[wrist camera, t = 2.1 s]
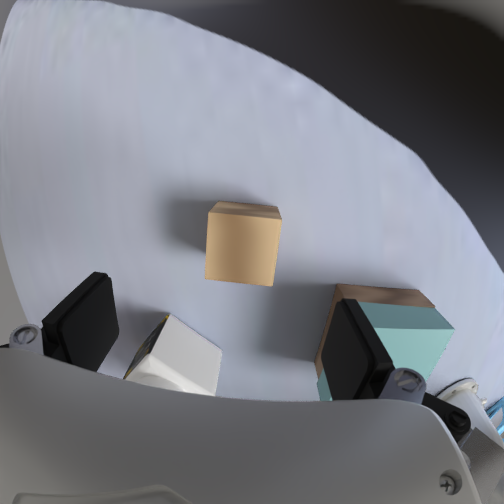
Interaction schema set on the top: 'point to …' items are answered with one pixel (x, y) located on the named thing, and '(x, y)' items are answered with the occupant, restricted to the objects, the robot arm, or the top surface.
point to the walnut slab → (370, 296)
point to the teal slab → (405, 337)
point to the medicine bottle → (176, 360)
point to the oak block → (242, 243)
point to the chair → (497, 406)
